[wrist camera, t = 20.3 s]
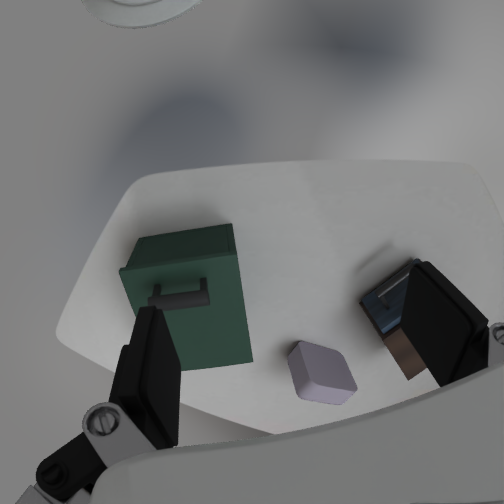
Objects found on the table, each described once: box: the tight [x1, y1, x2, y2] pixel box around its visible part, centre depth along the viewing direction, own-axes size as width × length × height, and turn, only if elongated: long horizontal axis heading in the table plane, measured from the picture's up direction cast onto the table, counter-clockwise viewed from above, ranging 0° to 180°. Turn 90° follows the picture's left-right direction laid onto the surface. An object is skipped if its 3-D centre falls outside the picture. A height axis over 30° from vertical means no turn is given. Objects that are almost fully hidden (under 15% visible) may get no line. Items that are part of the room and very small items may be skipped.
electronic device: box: [287, 341, 357, 405], centre depth 50 cm, size 10×5×10 cm, turn 63°
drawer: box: [361, 258, 420, 334], centre depth 46 cm, size 18×11×8 cm, turn 37°
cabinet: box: [359, 259, 427, 381], centre depth 48 cm, size 15×13×10 cm
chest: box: [126, 224, 236, 267], centre depth 41 cm, size 16×13×9 cm
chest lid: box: [119, 251, 253, 371], centre depth 35 cm, size 16×13×5 cm
